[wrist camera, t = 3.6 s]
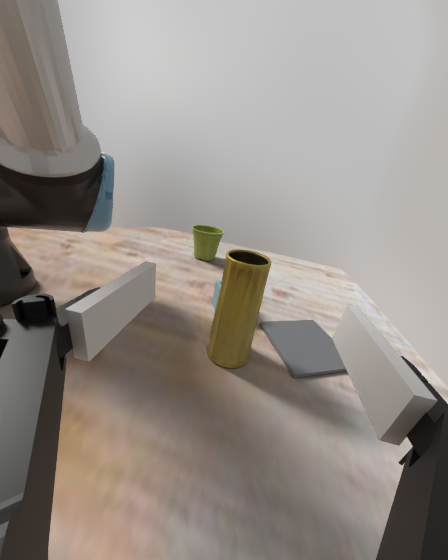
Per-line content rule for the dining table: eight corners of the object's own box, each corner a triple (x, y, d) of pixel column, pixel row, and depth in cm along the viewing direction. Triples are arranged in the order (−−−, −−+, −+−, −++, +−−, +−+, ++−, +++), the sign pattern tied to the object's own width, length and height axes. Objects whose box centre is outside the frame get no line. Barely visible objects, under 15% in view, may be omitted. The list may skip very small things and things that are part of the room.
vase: (240, 335, 33) (261, 249, 27) (255, 366, 28) (286, 268, 22) (202, 338, 31) (216, 246, 25) (211, 371, 26) (231, 266, 20)
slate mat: (293, 378, 27) (295, 374, 27) (259, 324, 37) (260, 321, 36) (358, 369, 30) (360, 366, 30) (311, 322, 40) (313, 320, 40)
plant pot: (211, 251, 69) (215, 225, 65) (225, 262, 62) (230, 233, 58) (184, 252, 64) (186, 224, 61) (196, 264, 57) (199, 232, 54)
